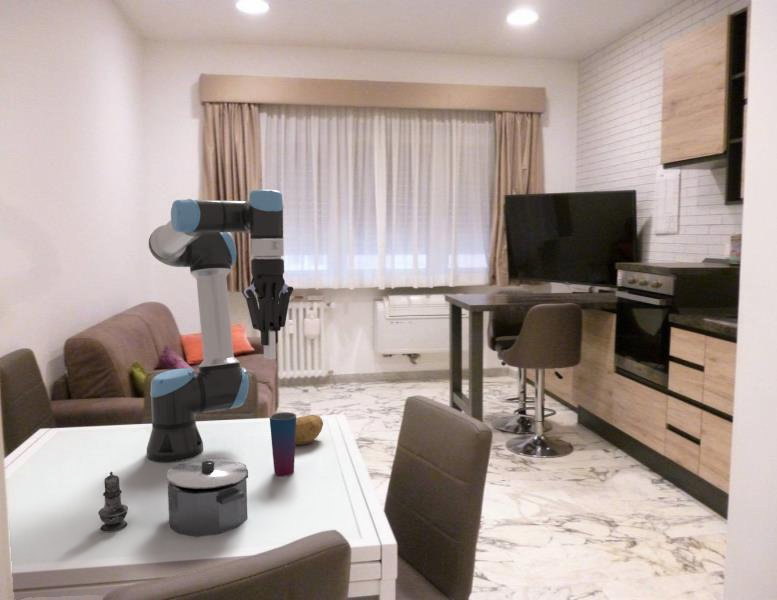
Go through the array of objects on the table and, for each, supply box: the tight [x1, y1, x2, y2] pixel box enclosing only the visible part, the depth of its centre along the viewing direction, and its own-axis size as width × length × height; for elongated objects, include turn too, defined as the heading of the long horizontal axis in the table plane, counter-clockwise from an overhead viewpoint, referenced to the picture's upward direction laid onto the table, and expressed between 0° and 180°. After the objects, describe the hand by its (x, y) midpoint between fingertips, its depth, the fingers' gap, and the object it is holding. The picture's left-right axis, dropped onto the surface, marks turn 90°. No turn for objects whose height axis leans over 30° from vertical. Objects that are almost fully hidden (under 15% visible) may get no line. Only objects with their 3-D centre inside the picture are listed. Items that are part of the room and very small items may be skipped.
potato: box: [295, 414, 324, 446], centre depth 183 cm, size 10×14×8 cm
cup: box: [269, 411, 297, 477], centre depth 159 cm, size 7×7×15 cm
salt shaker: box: [97, 471, 129, 533], centre depth 130 cm, size 6×6×12 cm
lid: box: [166, 458, 248, 489], centre depth 133 cm, size 17×17×3 cm
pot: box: [167, 469, 249, 537], centre depth 134 cm, size 20×17×9 cm
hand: (269, 358), depth 145 cm, fingers closed
